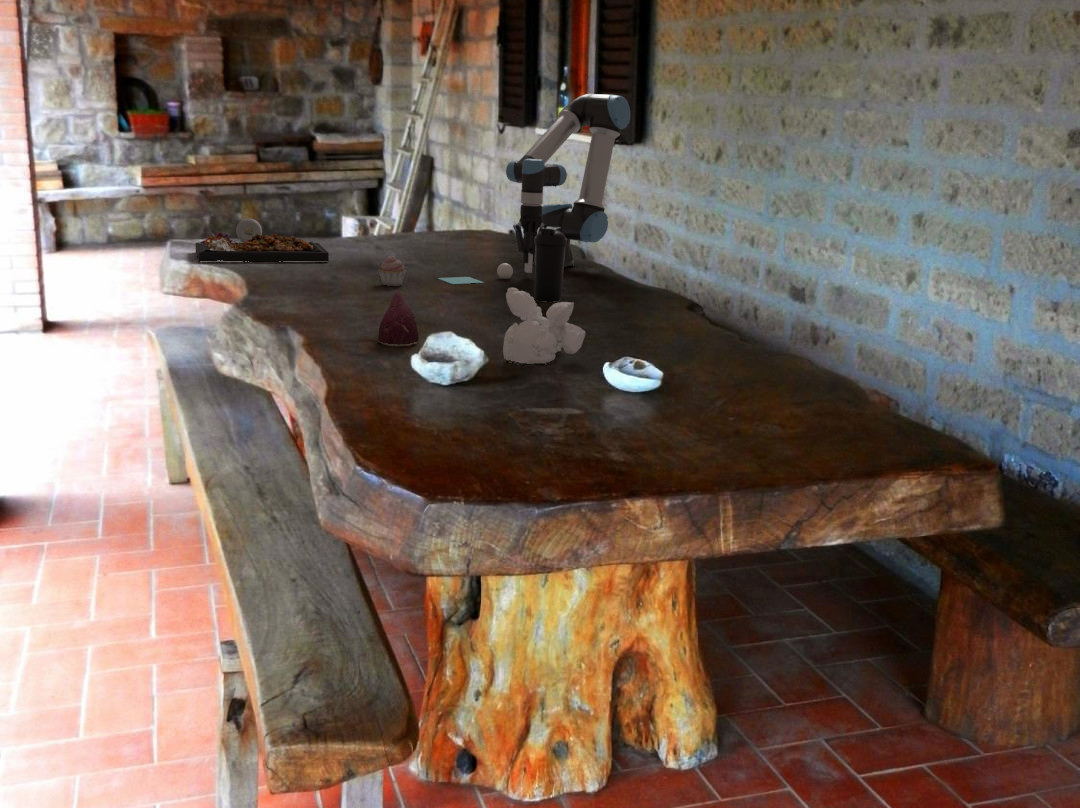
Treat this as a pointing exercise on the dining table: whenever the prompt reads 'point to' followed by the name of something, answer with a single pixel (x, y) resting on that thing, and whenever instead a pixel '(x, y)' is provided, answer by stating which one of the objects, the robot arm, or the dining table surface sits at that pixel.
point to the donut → (244, 224)
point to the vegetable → (398, 323)
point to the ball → (504, 271)
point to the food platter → (260, 249)
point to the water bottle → (549, 264)
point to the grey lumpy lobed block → (539, 330)
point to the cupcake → (392, 271)
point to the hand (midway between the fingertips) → (528, 272)
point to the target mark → (460, 280)
